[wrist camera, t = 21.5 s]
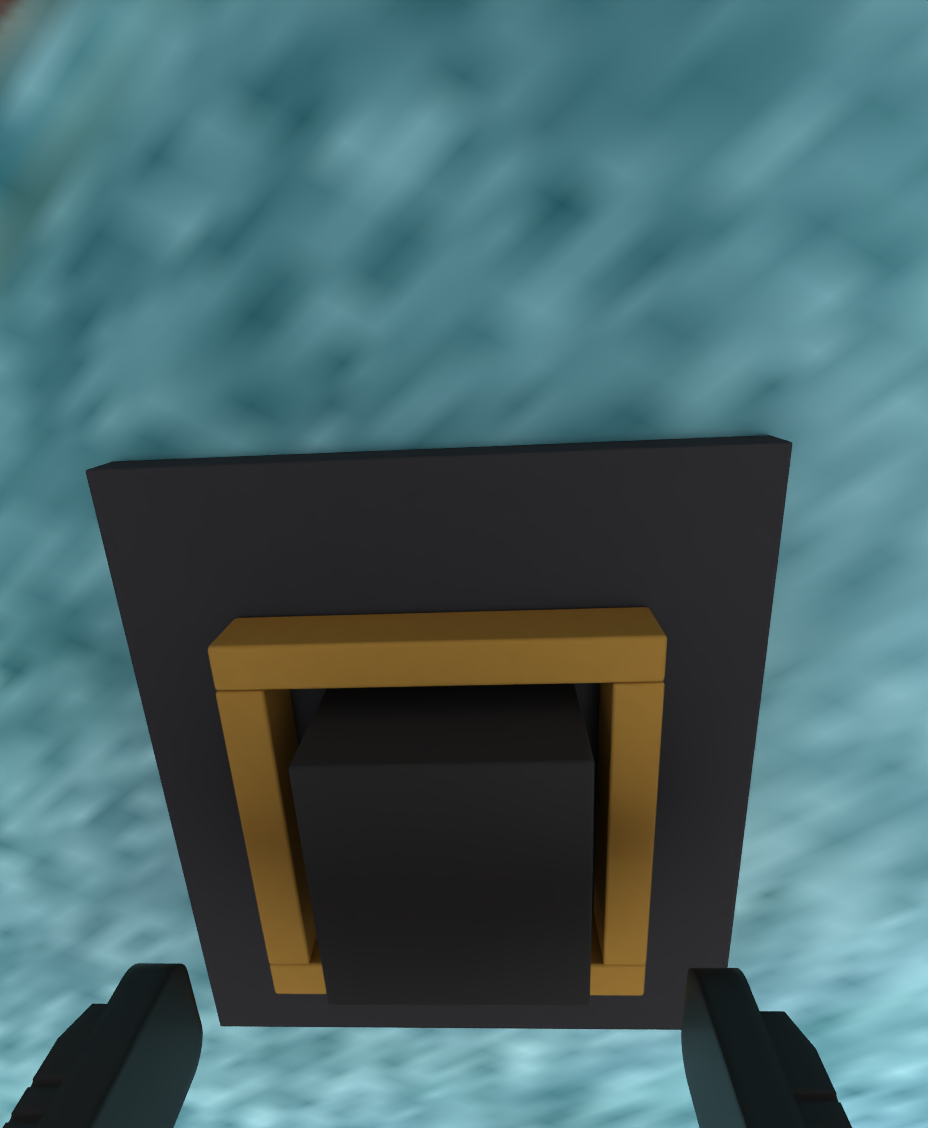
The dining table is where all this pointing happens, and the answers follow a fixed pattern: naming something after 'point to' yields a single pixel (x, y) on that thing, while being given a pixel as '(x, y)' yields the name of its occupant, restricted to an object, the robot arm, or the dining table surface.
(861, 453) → the dining table surface
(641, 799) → the base pad
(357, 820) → the black block
